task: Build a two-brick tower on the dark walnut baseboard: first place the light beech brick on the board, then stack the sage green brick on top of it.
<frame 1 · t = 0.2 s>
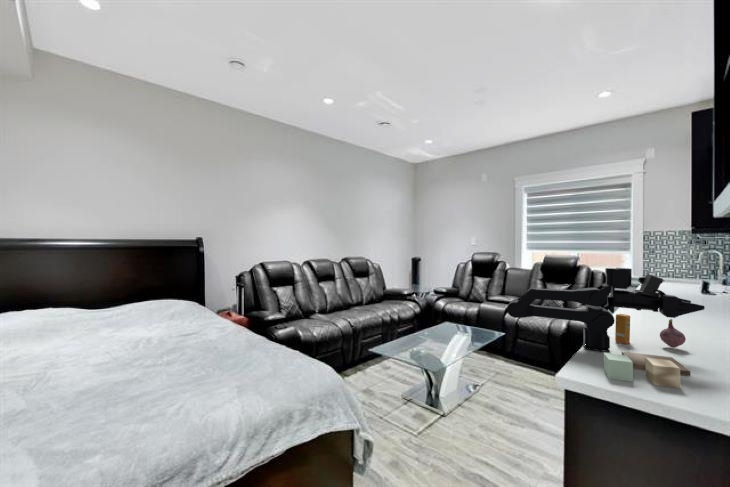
hand: (697, 304, 95), 17 cm above the counter, tool horizontal, fingers open, 9 cm apart
beech brick: (662, 382, 80), on the counter
vegetable: (672, 348, 106), on the counter
supplement box: (623, 343, 113), on the counter
walnut baseboard: (653, 364, 92), on the counter
sage green brick: (618, 375, 84), on the counter
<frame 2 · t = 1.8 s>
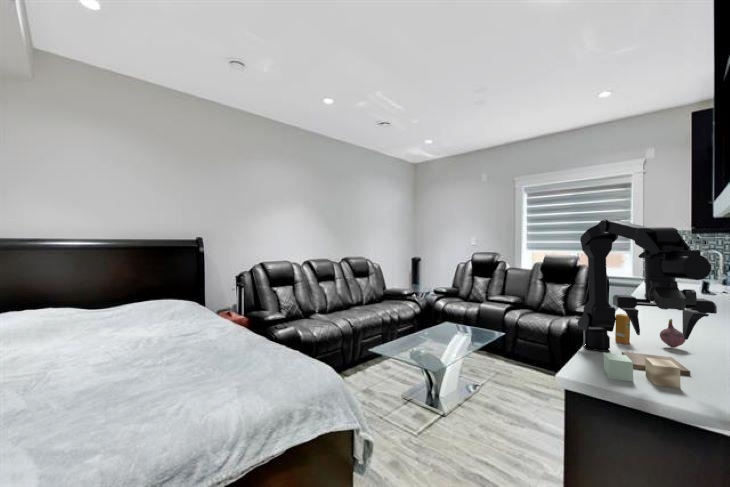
hand: (661, 337, 81), 11 cm above the counter, tool pointing down, fingers open, 9 cm apart
nothing on the counter moved.
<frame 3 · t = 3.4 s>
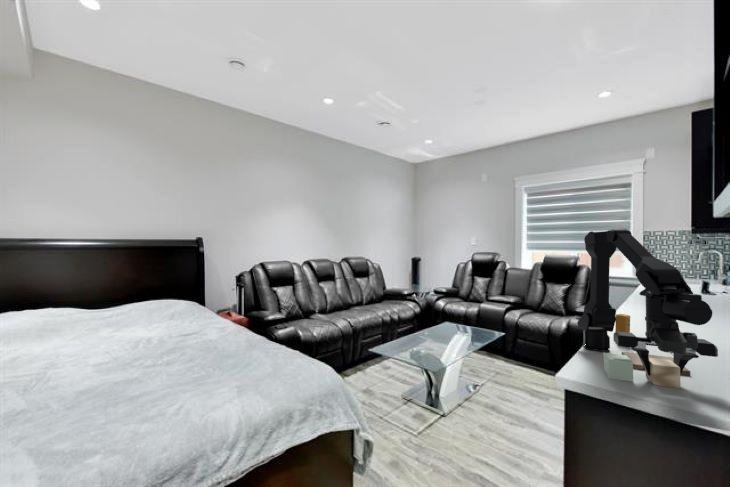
hand: (662, 376, 80), 1 cm above the counter, tool pointing down, fingers closed on beech brick, 5 cm apart
beech brick: (662, 381, 80), on the counter, touching gripper
everything else where it was.
when the fingers open (3 cm above the counter, at t = 8.7 s): beech brick stays where it is, resting on walnut baseboard.
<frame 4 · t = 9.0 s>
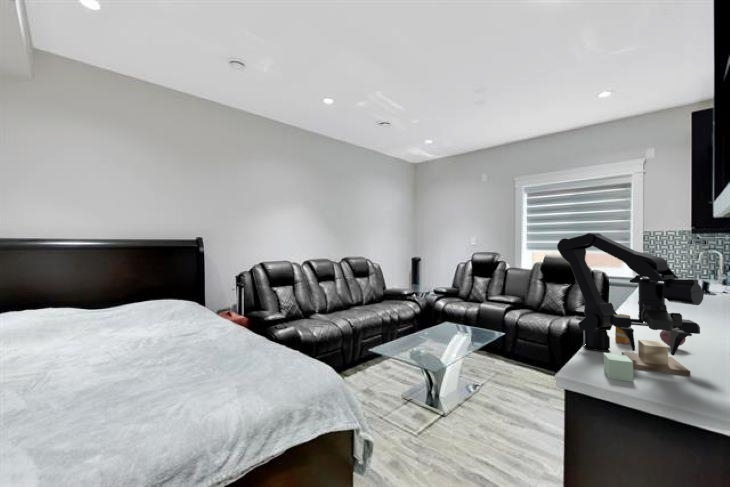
hand: (652, 352, 92), 3 cm above the counter, tool pointing down, fingers open, 8 cm apart
beech brick: (652, 360, 92), point 1 cm above the counter, touching walnut baseboard
everything else where it was.
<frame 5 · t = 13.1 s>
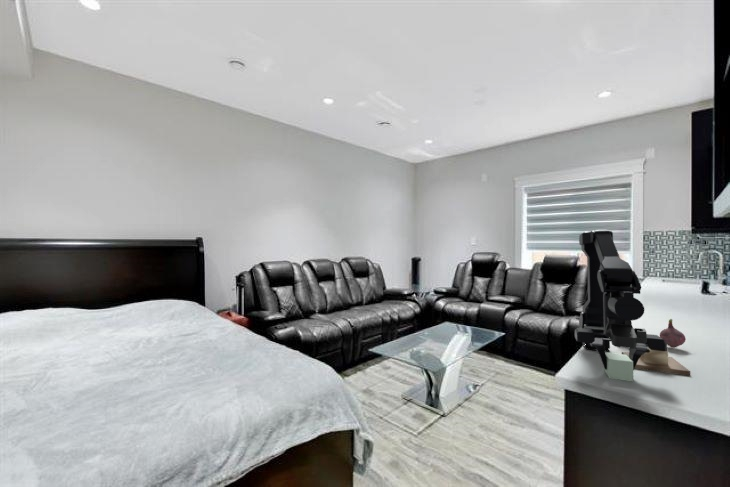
hand: (617, 370, 84), 1 cm above the counter, tool pointing down, fingers closed on sage green brick, 5 cm apart
sage green brick: (618, 375, 84), on the counter, touching gripper
everything else where it was.
when the fingers open (8 cm above the counter, at t = 17.9 s): sage green brick stays where it is, resting on beech brick.
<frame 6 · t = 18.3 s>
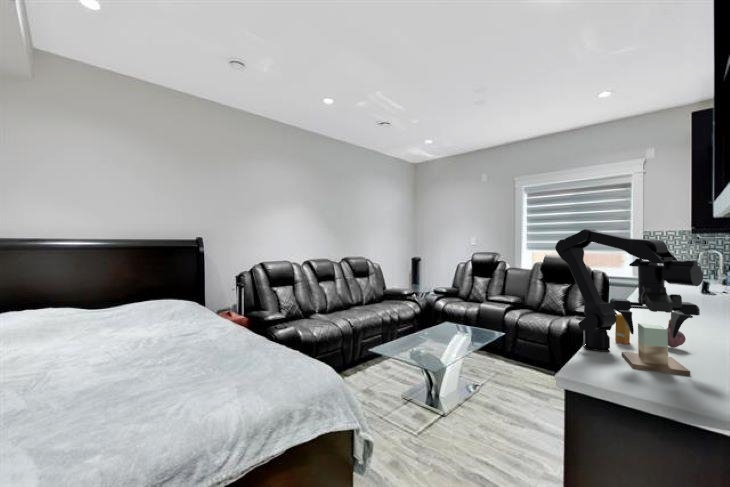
hand: (652, 335, 92), 8 cm above the counter, tool pointing down, fingers open, 9 cm apart
beech brick: (652, 360, 92), point 1 cm above the counter, touching sage green brick, walnut baseboard
sage green brick: (652, 343, 92), point 6 cm above the counter, touching beech brick
everything else where it was.
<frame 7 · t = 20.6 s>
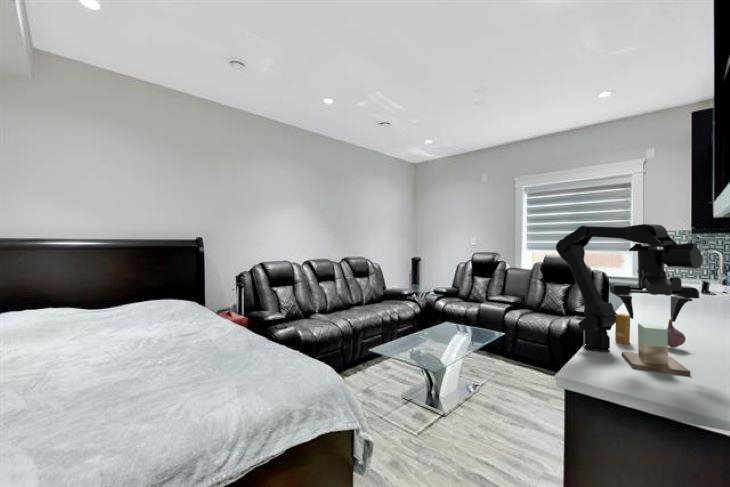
hand: (652, 320, 92), 13 cm above the counter, tool pointing down, fingers open, 9 cm apart
nothing on the counter moved.
at the end: beech brick 0.0 cm off-centre on the walnut baseboard, point 1.2 cm above the walnut baseboard's base; sage green brick 0.0 cm off-centre on the walnut baseboard, point 6.2 cm above the walnut baseboard's base; sage green brick tilted 0° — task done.
